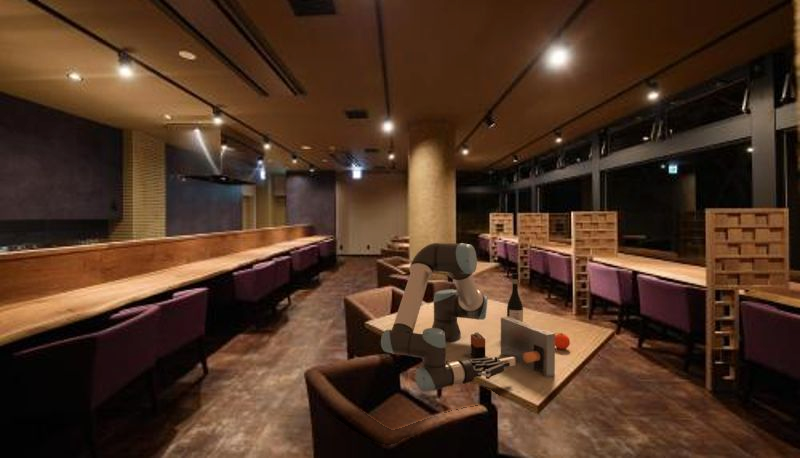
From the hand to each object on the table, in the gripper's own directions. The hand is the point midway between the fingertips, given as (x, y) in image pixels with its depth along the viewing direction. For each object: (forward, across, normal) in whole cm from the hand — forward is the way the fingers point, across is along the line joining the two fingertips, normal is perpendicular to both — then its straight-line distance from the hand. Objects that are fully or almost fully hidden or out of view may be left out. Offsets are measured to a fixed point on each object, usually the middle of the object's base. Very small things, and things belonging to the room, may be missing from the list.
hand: (513, 360), depth 134 cm
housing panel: (+14, -9, -7) cm, 18 cm away
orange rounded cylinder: (+9, 0, -2) cm, 9 cm away
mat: (0, -22, -7) cm, 23 cm away
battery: (0, -22, -7) cm, 23 cm away
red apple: (+41, -16, -7) cm, 45 cm away
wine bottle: (+41, -46, -7) cm, 62 cm away
